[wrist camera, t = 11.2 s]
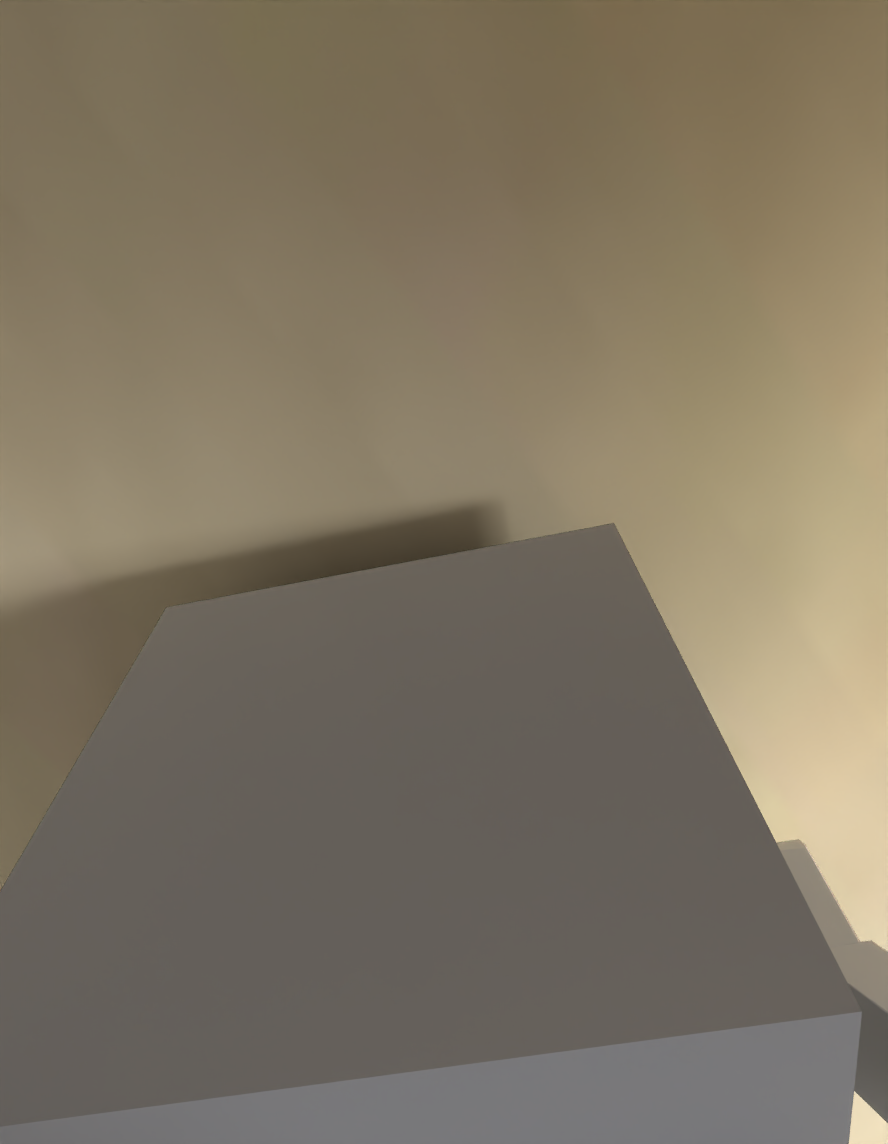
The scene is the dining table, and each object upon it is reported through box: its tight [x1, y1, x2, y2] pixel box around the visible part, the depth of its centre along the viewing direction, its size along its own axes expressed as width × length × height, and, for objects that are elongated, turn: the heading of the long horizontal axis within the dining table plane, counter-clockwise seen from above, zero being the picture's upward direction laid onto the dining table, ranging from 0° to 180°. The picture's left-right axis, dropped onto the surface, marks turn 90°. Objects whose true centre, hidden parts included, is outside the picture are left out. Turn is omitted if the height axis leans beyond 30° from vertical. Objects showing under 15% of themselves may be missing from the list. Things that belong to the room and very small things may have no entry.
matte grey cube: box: [0, 523, 862, 1144], centre depth 11 cm, size 7×7×8 cm
